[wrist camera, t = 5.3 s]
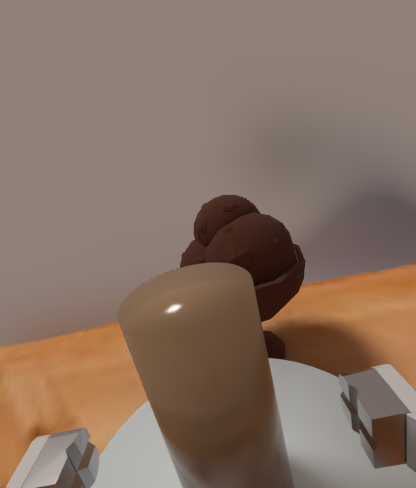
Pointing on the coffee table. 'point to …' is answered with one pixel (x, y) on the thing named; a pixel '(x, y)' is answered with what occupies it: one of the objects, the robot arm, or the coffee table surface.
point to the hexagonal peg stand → (227, 398)
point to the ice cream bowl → (250, 254)
